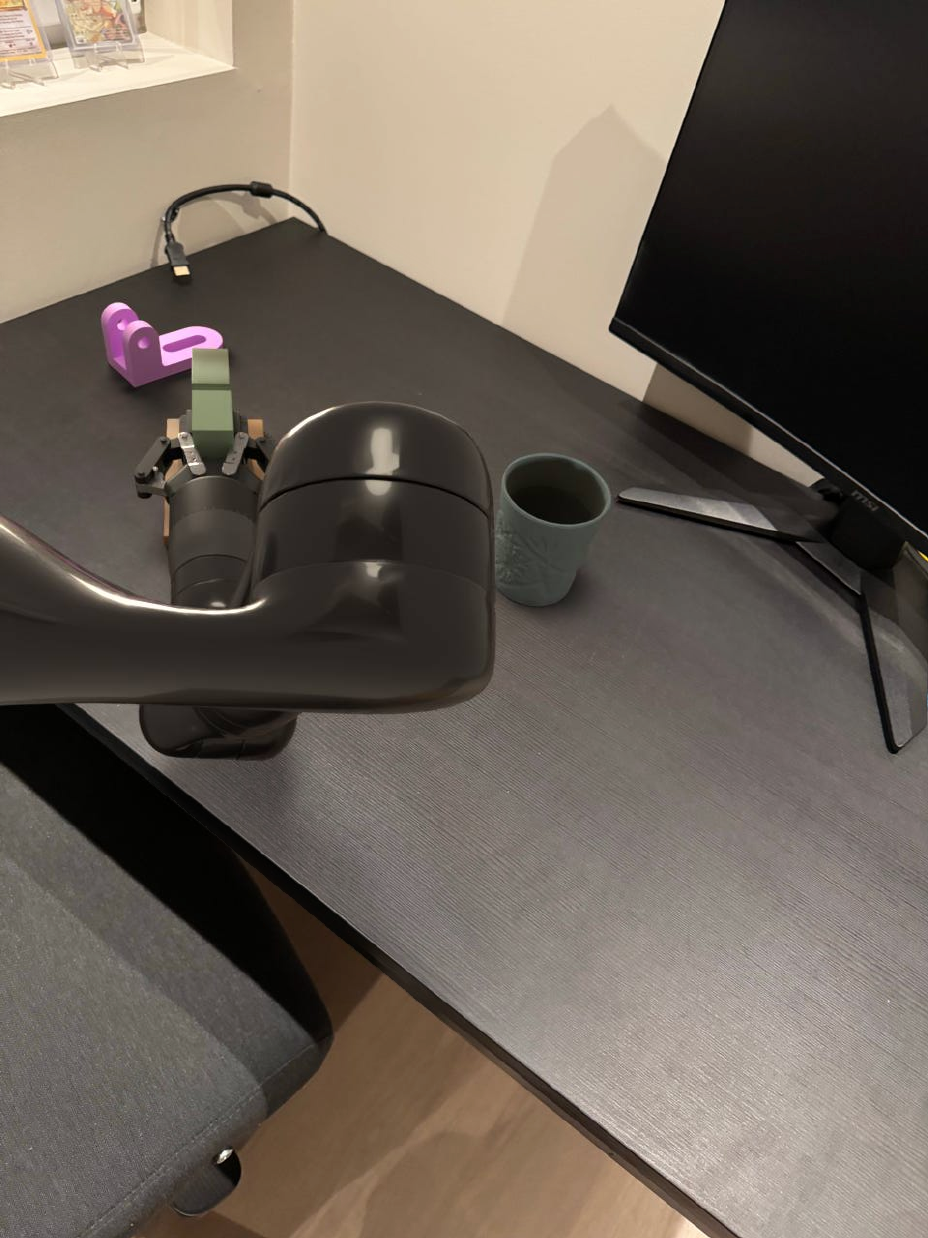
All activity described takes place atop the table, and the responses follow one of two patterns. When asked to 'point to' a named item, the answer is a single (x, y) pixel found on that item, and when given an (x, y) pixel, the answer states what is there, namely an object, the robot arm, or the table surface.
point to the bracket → (150, 346)
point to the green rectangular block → (212, 422)
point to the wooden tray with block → (209, 375)
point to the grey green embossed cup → (546, 525)
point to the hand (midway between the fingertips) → (213, 418)
